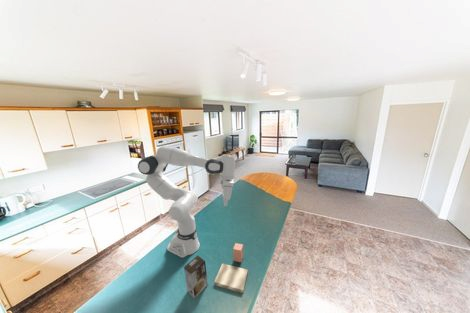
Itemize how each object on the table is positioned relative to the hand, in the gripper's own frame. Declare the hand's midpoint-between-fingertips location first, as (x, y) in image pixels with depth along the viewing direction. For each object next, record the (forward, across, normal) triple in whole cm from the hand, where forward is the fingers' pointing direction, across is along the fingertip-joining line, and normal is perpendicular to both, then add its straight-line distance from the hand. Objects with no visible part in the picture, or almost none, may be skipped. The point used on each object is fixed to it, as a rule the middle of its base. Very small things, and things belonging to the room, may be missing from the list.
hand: (224, 203), depth 100 cm
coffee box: (+44, +9, -11) cm, 46 cm away
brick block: (+36, -5, +12) cm, 38 cm away
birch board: (+40, +7, +7) cm, 41 cm away
